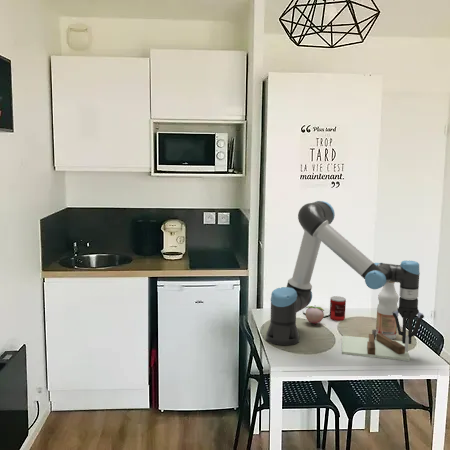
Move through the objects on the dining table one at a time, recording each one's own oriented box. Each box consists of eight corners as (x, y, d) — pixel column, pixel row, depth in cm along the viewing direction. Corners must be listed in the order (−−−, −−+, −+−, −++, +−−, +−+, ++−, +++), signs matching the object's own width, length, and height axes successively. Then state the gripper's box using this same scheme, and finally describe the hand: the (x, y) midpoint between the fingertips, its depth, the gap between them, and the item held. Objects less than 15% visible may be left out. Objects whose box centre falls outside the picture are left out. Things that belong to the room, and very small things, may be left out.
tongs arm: (398, 354, 221) (399, 347, 221) (376, 339, 237) (376, 333, 237) (404, 353, 222) (405, 346, 222) (381, 339, 238) (382, 333, 238)
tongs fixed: (367, 354, 222) (368, 344, 221) (366, 337, 240) (366, 328, 240) (377, 355, 221) (378, 345, 220) (375, 338, 240) (375, 329, 239)
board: (341, 353, 224) (342, 351, 224) (342, 337, 243) (342, 335, 243) (410, 360, 218) (410, 358, 218) (405, 343, 237) (405, 341, 237)
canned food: (334, 315, 275) (335, 295, 274) (347, 318, 270) (348, 298, 268) (326, 318, 270) (327, 298, 268) (339, 322, 264) (340, 301, 263)
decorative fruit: (304, 326, 258) (305, 307, 256) (304, 321, 266) (305, 302, 264) (324, 327, 256) (324, 308, 255) (323, 322, 264) (324, 303, 263)
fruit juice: (371, 334, 247) (374, 277, 243) (385, 331, 252) (389, 275, 248) (385, 341, 239) (389, 282, 235) (400, 338, 244) (404, 280, 239)
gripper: (393, 298, 217) (391, 352, 220) (426, 300, 214) (423, 355, 218) (392, 294, 225) (390, 346, 228) (423, 296, 222) (420, 348, 225)
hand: (406, 350), depth 223 cm, fingers closed
